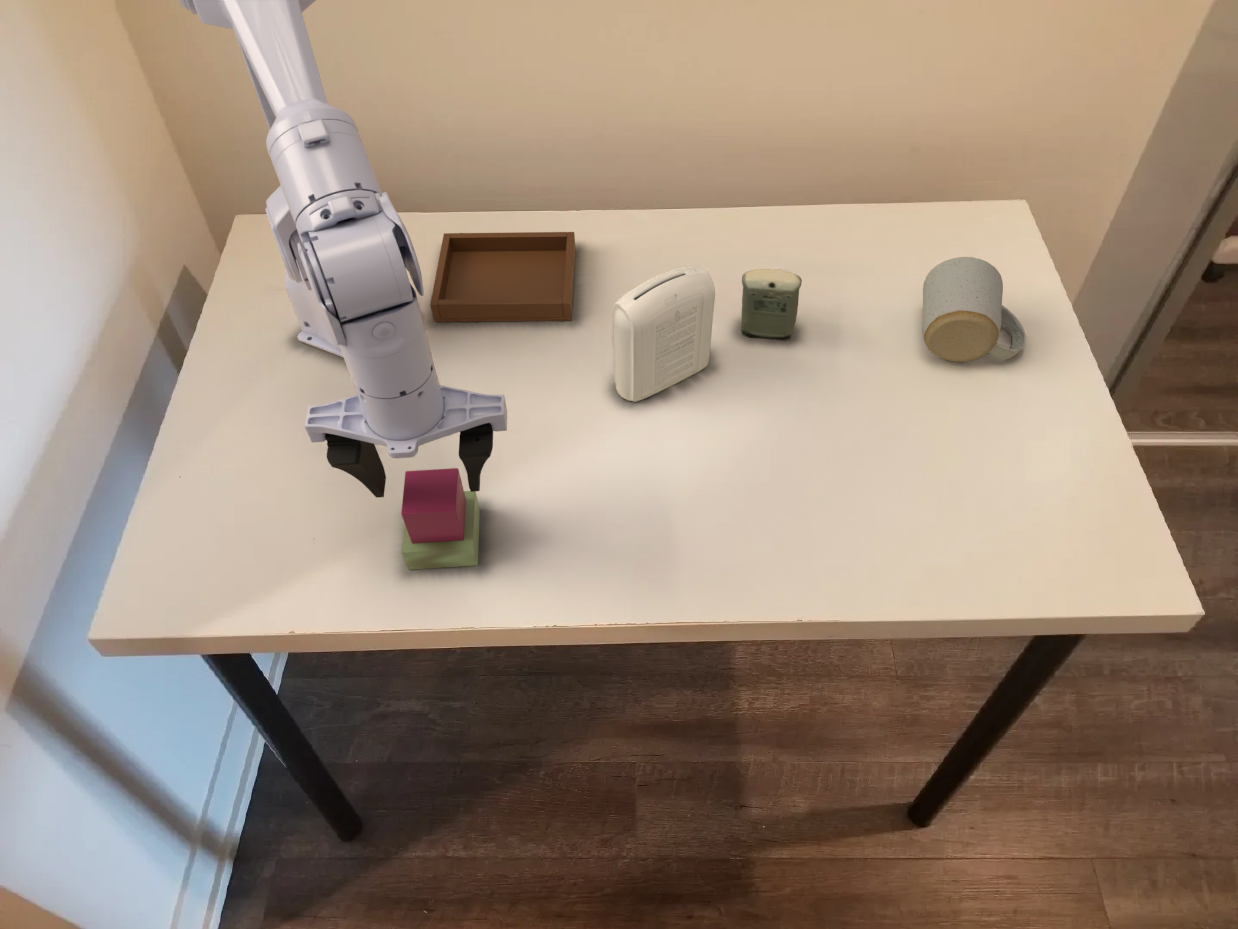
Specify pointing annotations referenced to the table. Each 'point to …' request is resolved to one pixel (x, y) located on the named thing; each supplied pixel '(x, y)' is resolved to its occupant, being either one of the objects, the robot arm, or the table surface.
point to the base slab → (447, 544)
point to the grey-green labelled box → (769, 303)
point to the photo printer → (662, 331)
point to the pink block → (434, 505)
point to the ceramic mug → (967, 311)
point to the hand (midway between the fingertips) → (428, 484)
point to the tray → (504, 277)
